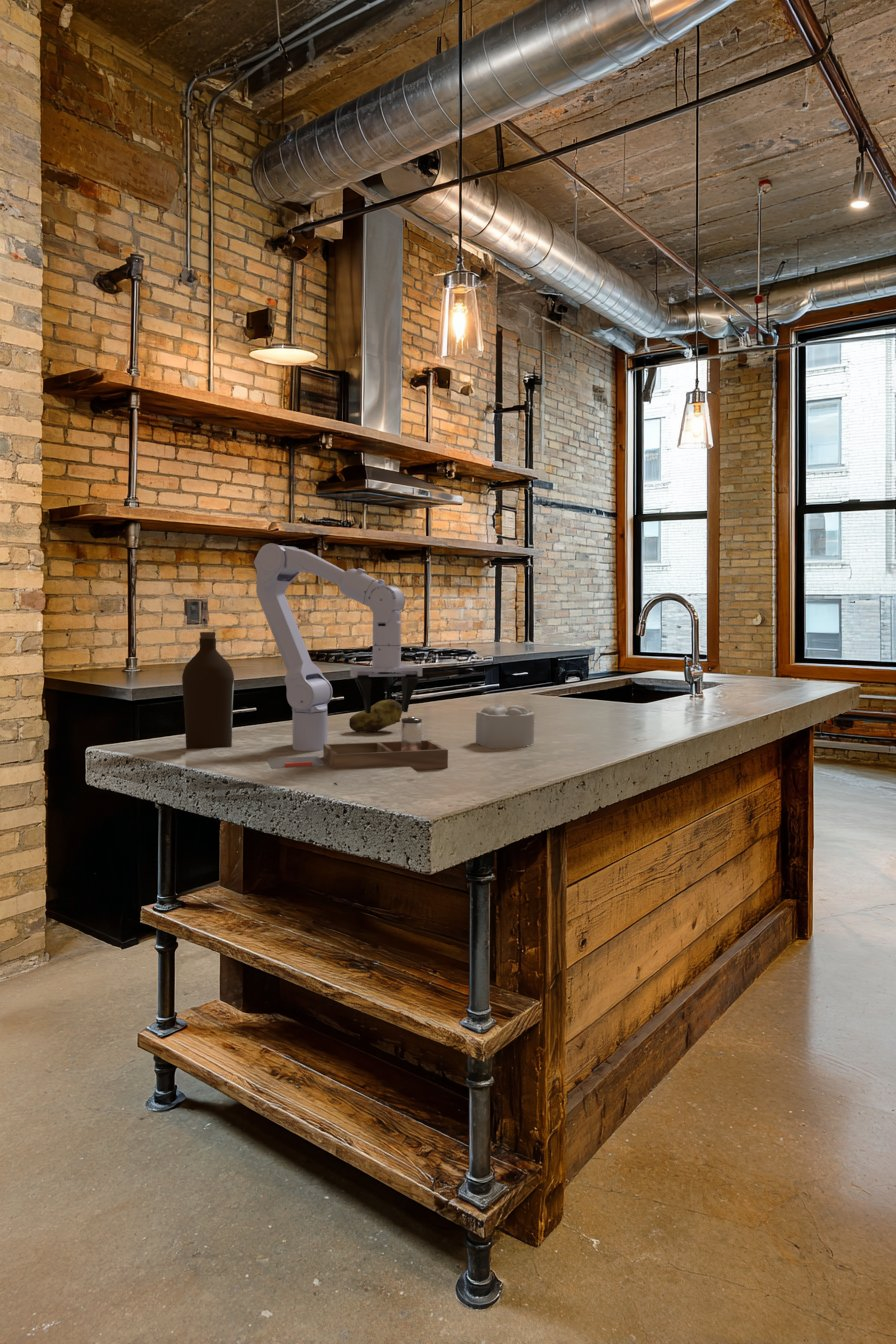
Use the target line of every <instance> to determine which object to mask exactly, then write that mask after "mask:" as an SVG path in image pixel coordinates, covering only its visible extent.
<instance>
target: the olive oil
mask: <svg viewBox="0 0 896 1344" xmlns="http://www.w3.org/2000/svg"><path fill="white" fill-rule="evenodd" d="M199 636H200V637H199V650H198V651H197V652H196V654H195V655H194V656H193V657H192V658H191V659H190V660H189V661H188V662H187V663H186V665H185V667H184V668H183V672H182V675H181V681H182V682H181V684H182V696H183V711H184V714H183V715H184V730H185V731H184V733H185V749H186V750H196V749H198V750H199V749H201V750H202V749H220V748H222V749H223V748H228V749H229V748H232V747H233V715H234V714H233V710H234V689H235V688H234V687H235V676H234V675H235V674H234V671H233V669H232V666H231V665H230V663H229V662H228V661H227V660H226V659H225V658H224V657H223V655H221V653H219V652H218V650H217V639H216V631H200V632H199Z"/></svg>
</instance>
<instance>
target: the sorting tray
mask: <svg viewBox="0 0 896 1344" xmlns="http://www.w3.org/2000/svg"><path fill="white" fill-rule="evenodd" d="M322 751H323V758H324V760H326V762H327V763H328V764H329V765H330V766H331V767H332V769H334V770H335V769H353V768H355V769H356V768H373V767H374V768H375V767H395V766H408V767H410V768H411V769H413V770H431V769H448V768H449V767H448V765H449V761H448V760H449V759H448V758H449V749H447V748H445V747H443V746H441V745H440V744H438V743H437V742H435V741H432V740H431V739H424V740H423V739H421V750H416V751H401V740H400V741H395V740H393V741H377V742H375V741H374V742H373V741H372V742H353V743H352V742H349V743H348V742H347V743H327V744H323V750H322Z"/></svg>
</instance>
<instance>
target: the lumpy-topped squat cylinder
mask: <svg viewBox="0 0 896 1344" xmlns="http://www.w3.org/2000/svg"><path fill="white" fill-rule="evenodd" d="M475 714H476V715H475V717H476V718H475V719H476V720H475V744H476V743H477V745H479V744H480V745H481V746H482V745H483V746H482V747H485V748H488V749H512V748H511V747H517V748H522V747H521V746H526V747H528V746H527V745H531V744H533V743H534V744H535V711H532V710H528V709H527V708H526V707H524V706H520V705H517V704H514V705H510V706H509V707H506V706H505V705H503V704H495V705H492V706H491V705H489V706H486V707H484V708H483V709H481V710H478V711H476V713H475ZM534 744H533V745H534ZM480 745H479V746H480ZM531 746H532V745H531Z"/></svg>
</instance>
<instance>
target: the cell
mask: <svg viewBox="0 0 896 1344" xmlns="http://www.w3.org/2000/svg"><path fill="white" fill-rule="evenodd" d="M422 721H423V719H422V718H418V717H416V716H408V717H401V718H400V724H401V726H400V727H401V729H400V730H401V732H400V733H401V734H400V741H401V751H416V750H421V740H422V737H423V735H422V734H423V733H422V730H423V729H422V727H423V724H422V723H423V722H422Z"/></svg>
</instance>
